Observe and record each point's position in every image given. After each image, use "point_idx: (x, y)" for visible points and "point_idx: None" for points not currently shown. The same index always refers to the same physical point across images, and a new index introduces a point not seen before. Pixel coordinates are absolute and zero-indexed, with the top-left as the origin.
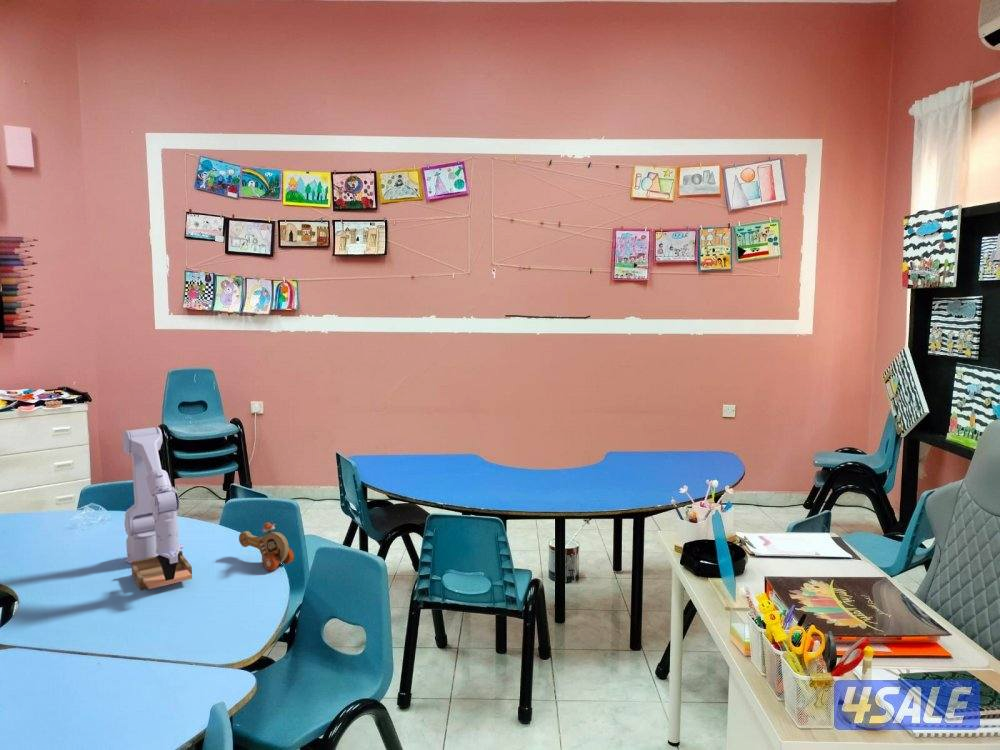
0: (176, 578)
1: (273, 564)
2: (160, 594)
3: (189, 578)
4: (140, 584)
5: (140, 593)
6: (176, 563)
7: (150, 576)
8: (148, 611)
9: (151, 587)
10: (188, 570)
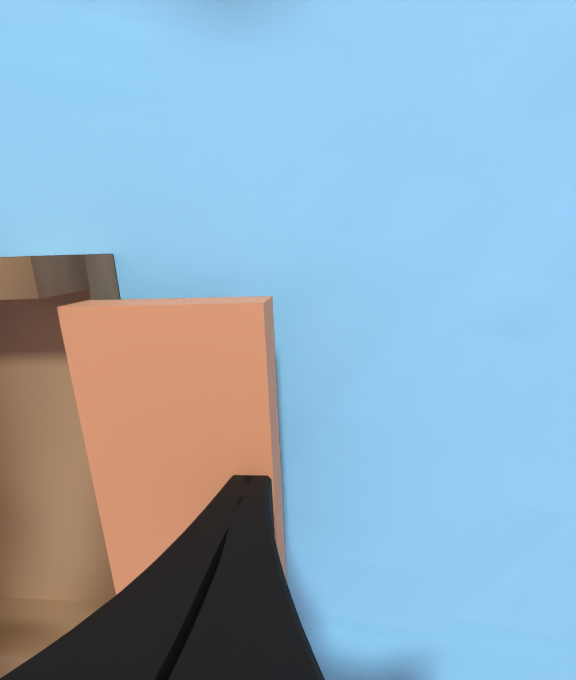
0: (272, 453)
1: None
2: (306, 509)
3: (273, 322)
4: None
5: None
6: (310, 661)
7: (16, 542)
8: (531, 613)
9: None
10: (67, 290)
